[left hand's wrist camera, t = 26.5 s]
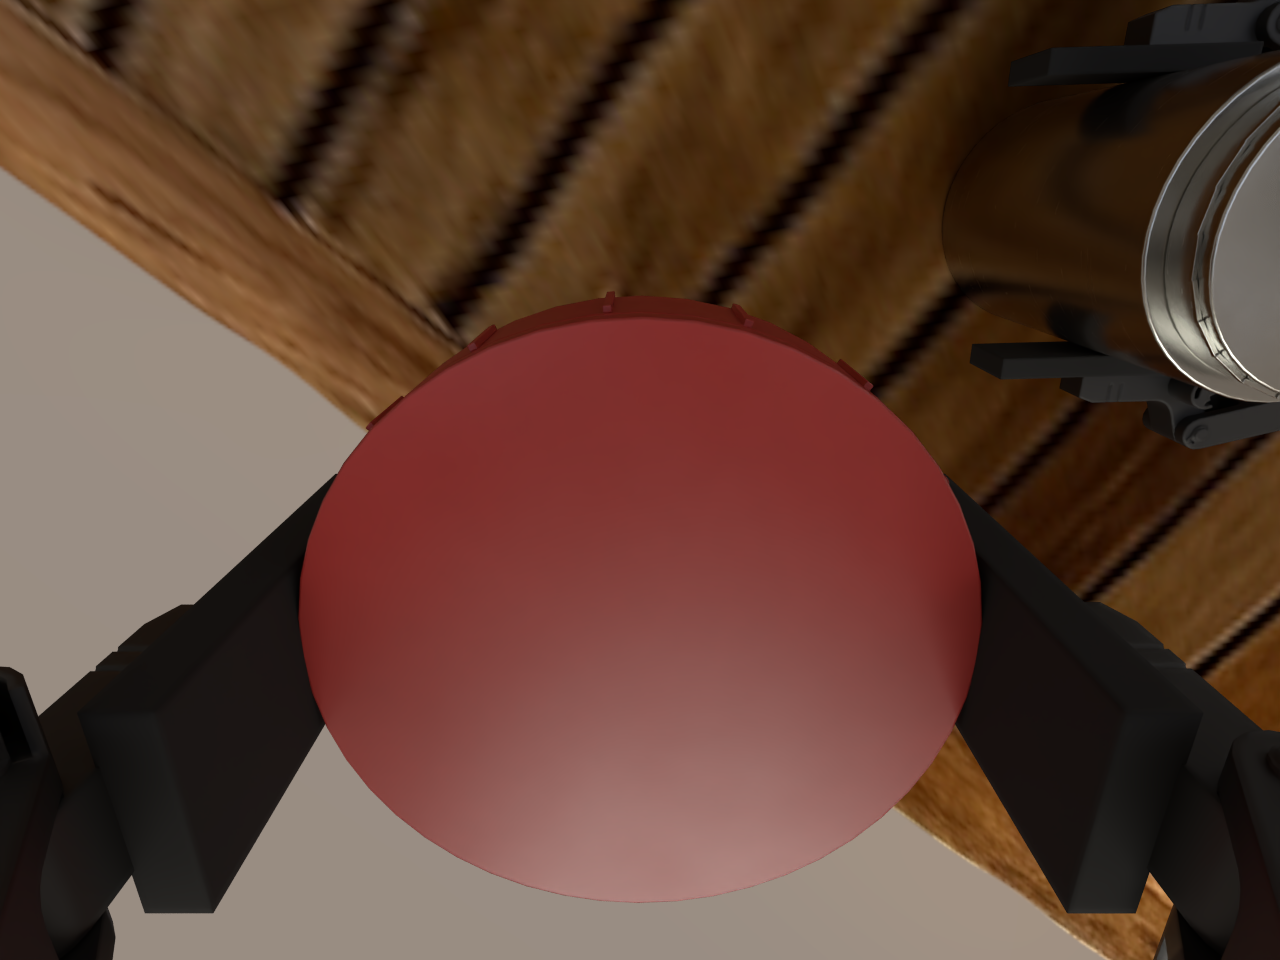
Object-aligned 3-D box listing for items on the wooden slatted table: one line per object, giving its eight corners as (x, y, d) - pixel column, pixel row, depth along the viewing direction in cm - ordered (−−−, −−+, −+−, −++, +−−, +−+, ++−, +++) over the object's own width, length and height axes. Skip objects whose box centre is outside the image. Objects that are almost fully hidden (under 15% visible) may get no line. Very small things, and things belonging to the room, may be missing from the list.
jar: (939, 333, 33) (1164, 442, 19) (942, 115, 30) (1217, 47, 16) (1142, 306, 33) (1531, 397, 19) (1167, 82, 30) (1664, -19, 15)
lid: (382, 811, 14) (342, 904, 12) (300, 287, 10) (227, 308, 9) (890, 814, 14) (927, 907, 12) (979, 293, 10) (1051, 314, 9)
